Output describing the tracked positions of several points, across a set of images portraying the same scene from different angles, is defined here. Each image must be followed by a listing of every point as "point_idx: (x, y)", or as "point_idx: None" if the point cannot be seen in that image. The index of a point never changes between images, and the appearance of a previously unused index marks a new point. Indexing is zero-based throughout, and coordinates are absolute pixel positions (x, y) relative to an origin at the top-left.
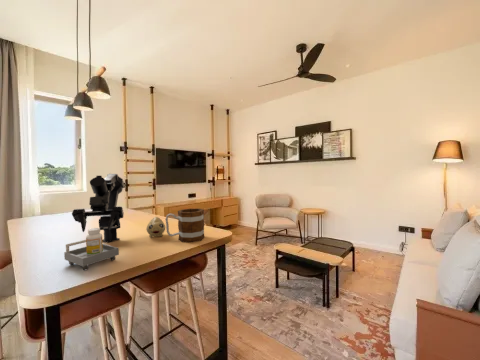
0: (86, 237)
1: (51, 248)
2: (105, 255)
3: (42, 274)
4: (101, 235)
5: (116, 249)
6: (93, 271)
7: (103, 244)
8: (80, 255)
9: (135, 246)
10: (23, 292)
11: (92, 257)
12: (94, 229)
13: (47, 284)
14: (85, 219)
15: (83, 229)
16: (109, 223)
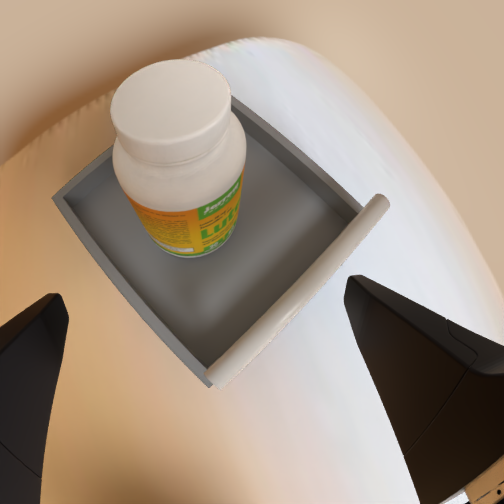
0: (234, 115)
1: None
2: None
3: (371, 163)
4: (115, 139)
5: (64, 190)
6: None
7: (159, 325)
8: (272, 209)
9: None
10: (330, 62)
11: None
12: (162, 83)
13: (295, 79)
14: (453, 483)
15: (357, 280)
16: (15, 327)
